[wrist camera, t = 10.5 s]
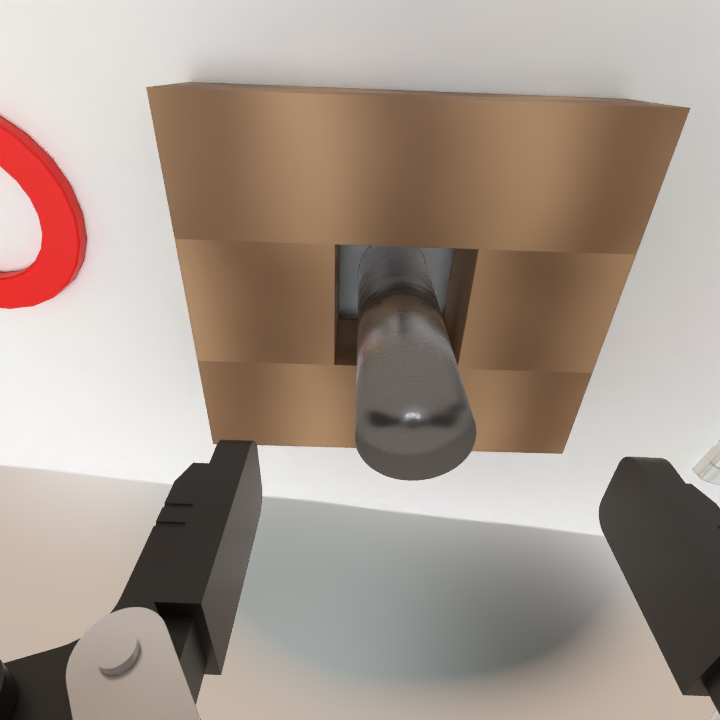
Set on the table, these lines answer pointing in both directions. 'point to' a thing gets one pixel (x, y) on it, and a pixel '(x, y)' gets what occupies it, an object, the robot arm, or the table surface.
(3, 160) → the tow hook
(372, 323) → the pin
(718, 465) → the hard drive
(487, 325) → the wooden square frame
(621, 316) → the table surface
